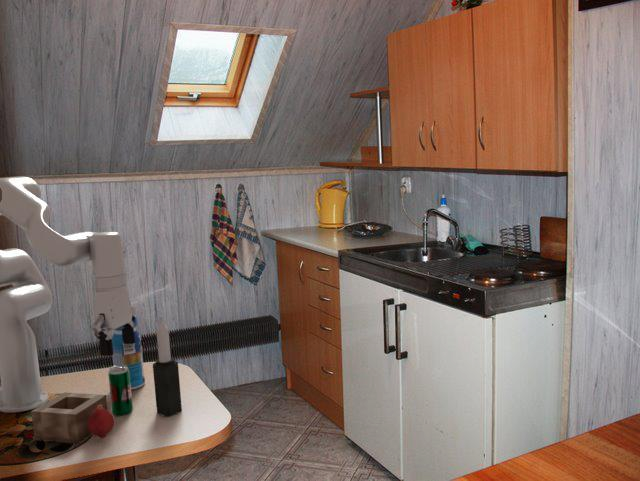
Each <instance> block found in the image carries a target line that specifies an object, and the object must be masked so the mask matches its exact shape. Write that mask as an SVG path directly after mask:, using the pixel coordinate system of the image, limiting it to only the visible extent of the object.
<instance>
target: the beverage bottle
mask: <svg viewBox="0 0 640 481" xmlns="http://www.w3.org/2000/svg"><path fill="white" fill-rule="evenodd" d="M134 325H135V326H134V336H135V343H134V344H124V343H123V337H122V328H123V326H121V327H119V328H117V329H115V330H112V332H113V335H112V336H111V339H112V346H113V355H112V362H113V363H112V364H113V365H112V366H115V365H127V368H128V369H129V373H130V384H131V391H132V390H136V389H140V388H141V387H143V386H144V385H145V383H146V379H145V371H144V362H143V361H144V360H143V359H144V358H143V346H142V344H141V341H142V337H141V335H140V333H139V331H138V330H137V327H138V320H137V316H136V315H135V321H134Z"/></svg>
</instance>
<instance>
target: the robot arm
mask: <svg viewBox="0 0 640 481" xmlns="http://www.w3.org/2000/svg"><path fill="white" fill-rule="evenodd" d="M0 188H1V190H2V200H1V202H0V216H4V217H5V218H6V219H8V220H10V221H11V222H12V223H14V224H15V225H16V226H18V227H19V228H21V229H22V230H23V231H25V236H26V240H27V241H28V243H29V245H30V247H31V248H32V250H34V252H36V254H38V255H40V256H41V257H42V258H44V259H45V260H47V261H48V262H50V263H51V264H52V265H55V266H57V267H61V268H68V267H69V268H70V267H72V266H76V265H80V264H83V263H87V262H91V265H92V272H93V283H94V288H95V290H94V291H93V323H92V325H91V329H92V331H93V333H94V336H95V337H96V339H97V341H98V344H99V349H100V350H99V351H100V356H104V357H105V356H106V357H109V356H110V357H111V356H112V355H113V346H112V338H111V337H112V336H111V335H112V332H113V330H115V329H117V328H119V327H121V326H123V328H122V337H123V343H124V344H134V343H135V336H134V326H135V325H134V321H135V316H136V311H137V310H136V308H135V307H134V306H132V302H131V297H130V292H129V289H128V284H127V276H126V266H125V259H124V258H125V257H124V248H123V242H122V236H121V234H120V233H119V232H118V231H117V232H116V231H104V232H95V231H81V232H77V233H75V232H74V233H71V234H65V235H63V234H60V233H58V232H57V231H55V230H53V229H52V228H51V227H49V226H48V223H49V221H50V218H51V215H52V210H51V207H50V205H49V204H48V203H47V202H45V201H44V200H42V199H41V197H42V191H41V188H40V186H39V184H38V183H37V182H36V181H35V180H33V178H30V177H27V176H21V175H20V176H10V177H8V176H7V177H0ZM9 285H11V286H13V287H8V288H5V289H3V290H0V384H1V385H0V412H2V413H7V414H8V413H9V414H10V413H11V414H13V413H21V412H25V411H30V410H31V411H32V410H34V409H36V408H38V407H40V406H41V405H43V404H45V403H47V402H48V401H50V400H49V399H50V398H49V394H48V393H47V392H43V391H42V383H41V382H42V381H41V374H40V365H39V356H38V349H37V348H38V347H37V341H36V339H37V338H36V336H35V333H34V331H33V329H32V328H31V326H30V325H29V323H28V321H29V320H31V319H34V318H37V317H39V316H42V315H44V314H46V313H47V312H49V311H50V309H51V308H52V306H53V302H54V300H53V294H52V291H51V289H50V286H48V283H47V282H46V280H45V278H44V277H43V275H42V273H41V272H40V270H39V269H38V266H37V265H36V263H35V261H34V260H33V258H32V257H31V256H30V255H29V253H27V252H26V251H24V250H22V249H21V248H16V247H15V248H6V249H0V288H1V287H5V286H9ZM105 332H106V333H105Z"/></svg>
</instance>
